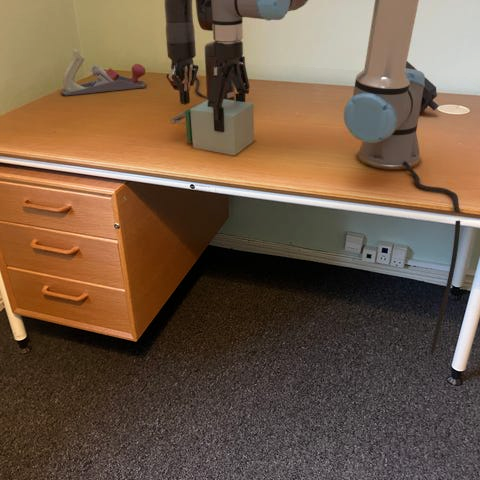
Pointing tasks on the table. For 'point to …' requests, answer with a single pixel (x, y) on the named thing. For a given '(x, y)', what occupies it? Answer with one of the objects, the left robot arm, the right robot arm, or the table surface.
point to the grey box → (235, 127)
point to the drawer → (187, 116)
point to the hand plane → (105, 80)
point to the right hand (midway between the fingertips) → (230, 123)
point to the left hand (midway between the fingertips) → (185, 103)
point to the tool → (426, 93)
